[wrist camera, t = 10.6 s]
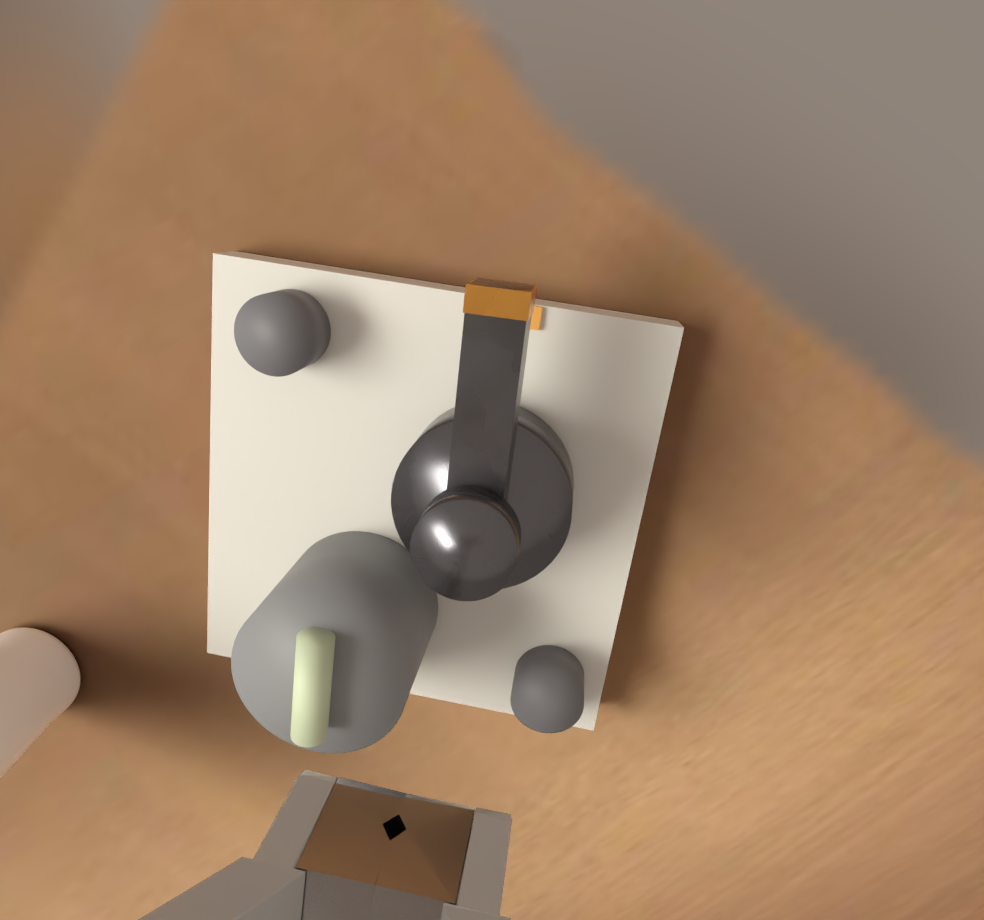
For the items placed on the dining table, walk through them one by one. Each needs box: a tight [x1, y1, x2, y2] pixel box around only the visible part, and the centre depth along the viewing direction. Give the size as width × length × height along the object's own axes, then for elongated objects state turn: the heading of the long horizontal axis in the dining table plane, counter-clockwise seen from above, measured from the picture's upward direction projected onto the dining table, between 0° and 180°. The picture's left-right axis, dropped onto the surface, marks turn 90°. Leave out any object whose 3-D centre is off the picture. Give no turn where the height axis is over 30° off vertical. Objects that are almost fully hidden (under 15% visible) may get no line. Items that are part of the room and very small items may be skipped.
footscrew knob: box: [391, 278, 574, 601], centre depth 27 cm, size 12×7×7 cm, turn 174°
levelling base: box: [207, 251, 684, 753], centre depth 30 cm, size 19×19×9 cm
